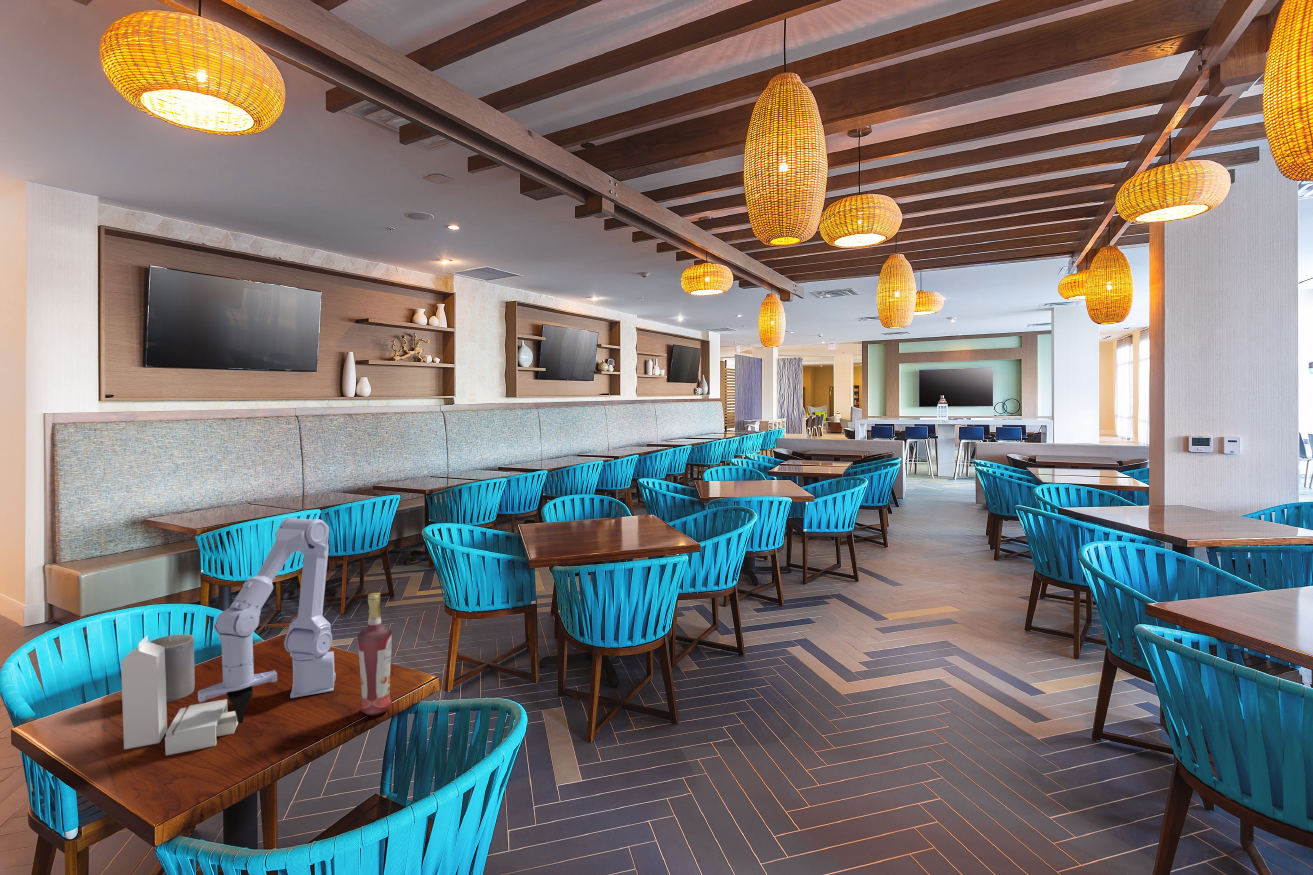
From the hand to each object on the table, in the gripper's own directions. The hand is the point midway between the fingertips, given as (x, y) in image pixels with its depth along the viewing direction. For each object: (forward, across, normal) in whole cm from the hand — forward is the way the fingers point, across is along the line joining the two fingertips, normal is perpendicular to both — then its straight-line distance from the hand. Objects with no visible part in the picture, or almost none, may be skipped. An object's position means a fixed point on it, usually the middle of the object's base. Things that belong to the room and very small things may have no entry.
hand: (239, 721), depth 136 cm
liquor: (+2, -24, +14) cm, 28 cm away
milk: (+2, +15, -9) cm, 18 cm away
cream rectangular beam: (+1, +5, -3) cm, 6 cm away
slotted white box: (+1, +7, -2) cm, 7 cm away
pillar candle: (+2, +8, -32) cm, 33 cm away
